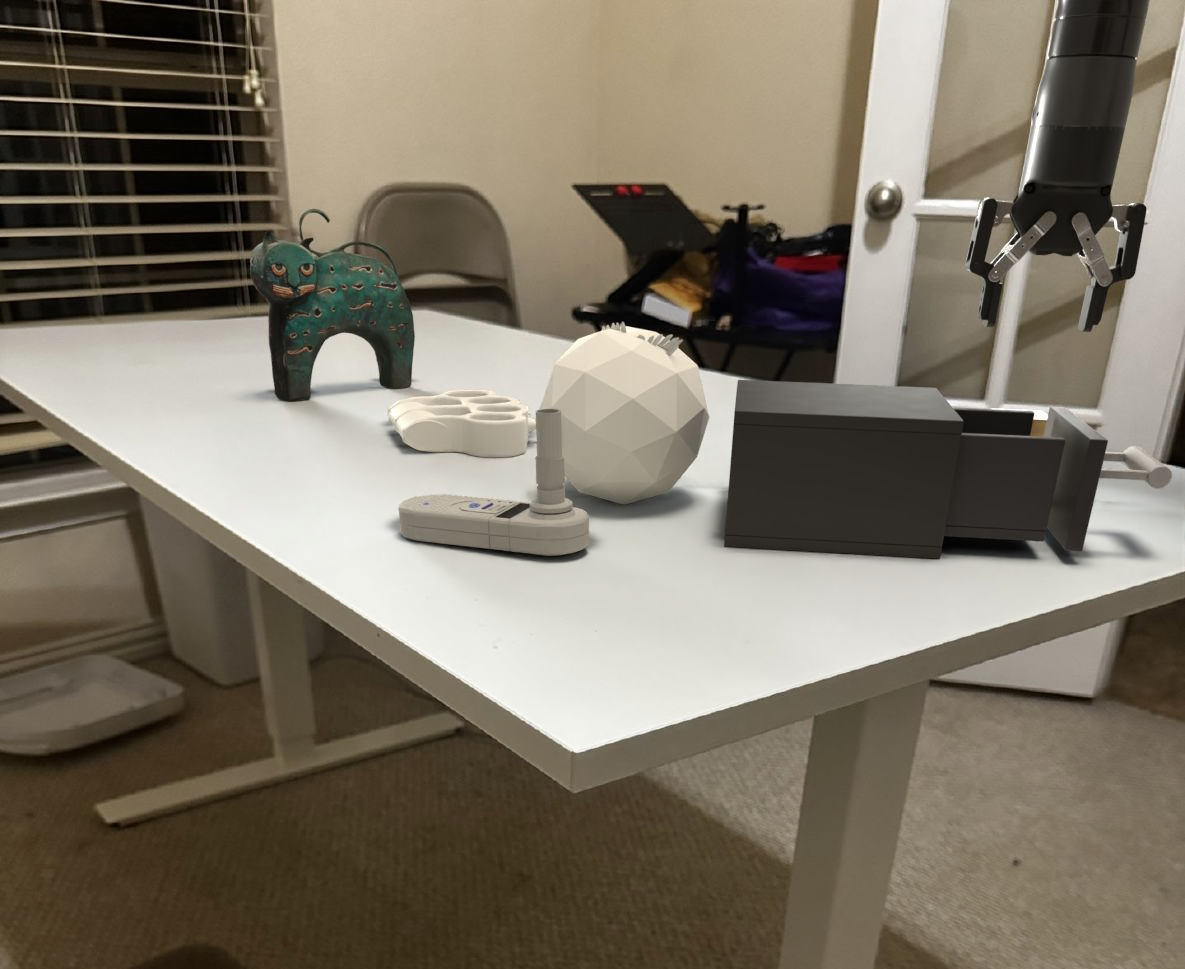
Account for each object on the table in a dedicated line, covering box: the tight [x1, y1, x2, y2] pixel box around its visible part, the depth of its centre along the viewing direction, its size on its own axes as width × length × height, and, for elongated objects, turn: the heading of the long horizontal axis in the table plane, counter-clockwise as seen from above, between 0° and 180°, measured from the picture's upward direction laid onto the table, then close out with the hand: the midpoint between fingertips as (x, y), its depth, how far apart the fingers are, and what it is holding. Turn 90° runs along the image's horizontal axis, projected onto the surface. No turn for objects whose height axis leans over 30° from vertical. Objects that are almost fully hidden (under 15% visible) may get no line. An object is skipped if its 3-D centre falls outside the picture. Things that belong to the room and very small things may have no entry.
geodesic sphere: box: [538, 321, 710, 506], centre depth 93 cm, size 15×14×14 cm
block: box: [989, 408, 1048, 437], centre depth 108 cm, size 5×5×5 cm
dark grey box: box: [723, 379, 964, 560], centre depth 87 cm, size 16×14×10 cm
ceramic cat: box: [249, 208, 416, 402], centre depth 133 cm, size 20×6×20 cm, turn 132°
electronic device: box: [398, 408, 590, 557], centre depth 82 cm, size 5×10×15 cm
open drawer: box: [944, 406, 1173, 552], centre depth 86 cm, size 20×13×8 cm, turn 83°
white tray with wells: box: [387, 388, 536, 459], centre depth 115 cm, size 3×18×15 cm
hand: (1036, 328), depth 103 cm, fingers open, 8 cm apart
